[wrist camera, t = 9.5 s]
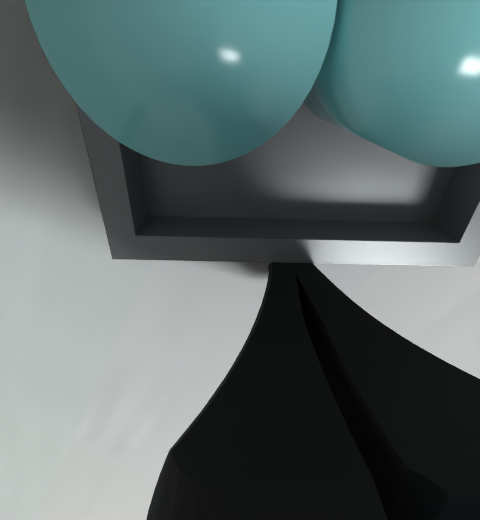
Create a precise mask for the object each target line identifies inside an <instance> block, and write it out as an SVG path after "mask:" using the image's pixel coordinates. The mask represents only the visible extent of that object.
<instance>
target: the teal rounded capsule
mask: <svg viewBox="0 0 480 520" xmlns="http://www.w3.org/2000/svg"><path fill="white" fill-rule="evenodd" d="M24 1H25V4H26V7H27V11H28V14H29V17H30V21H31V23H32V26H33V28H34V31H35V33H36V36H37V38H38V41H39V43H40V46H41V48H42V50H43V52H44V54H45V56H46V58H47V60H48V61H49V63H50V65H51V67H52V69H53V71H54V72H55V74H56V75H57V77H58V78H59V80H60V82H61V83H62V85H63V86H64V88H65V89H66V91H67V92H68V93H69V94H70V96H71V97H72V98H73V100H74V101H75V102H76V103H77V105H78V106H79V107H80V108H81V109H82V110H83V111H84V112H85V113H86V114H87V115H88V117H89V118H90V119H91V120H92V121H93V122H95V123H96V124H97V125H98V126H99V127H100V128H101V129H103V130H104V131H105V132H106V133H107V134H109V135H110V136H111V137H113V138H114V139H116V140H117V141H119V142H120V143H121V144H123V145H125V146H127V147H128V148H130V149H132V150H134V151H136V152H138V153H140V154H142V155H145V156H147V157H150V158H152V159H155V160H159V161H162V162H166V163H170V164H177V165H184V166H204V165H212V164H218V163H222V162H226V161H230V160H233V159H235V158H238V157H240V156H243V155H245V154H247V153H249V152H251V151H252V150H254V149H256V148H258V147H259V146H261V145H262V144H264V143H265V142H266V141H268V140H269V139H270V138H272V137H273V136H274V135H275V134H276V133H277V132H278V131H279V130H280V129H281V128H282V127H283V126H284V125H285V124H286V123H287V122H288V121H289V120H290V119H291V118H292V116H293V115H294V114H295V113H296V111H297V110H298V109H299V108H300V106H301V105H302V103H303V101H304V100H305V98H306V97H307V95H308V93H309V92H310V90H311V88H312V86H313V84H314V82H315V80H316V78H317V76H318V74H319V72H320V69H321V67H322V64H323V61H324V58H325V55H326V53H327V50H328V47H329V43H330V39H331V34H332V30H333V26H334V22H335V14H336V7H337V0H24Z"/></svg>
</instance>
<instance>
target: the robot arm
mask: <svg viewBox="0 0 480 520" xmlns="http://www.w3.org/2000/svg"><path fill="white" fill-rule="evenodd" d="M268 270H269V276H268V282H267V287H266V291H265V294H264V298H263V301H262V304H261V307H260V310H259V312H258V315H257V318H256V320H255V323H254V325H253V327H252V330H251V332H250V334H249V336H248V338H247V340H246V342H245V344H244V346H243V348H242V350H241V352H240V353H239V355H238V357H237V359H236V360H235V362H234V364H233V366H232V367H231V369H230V370H229V372H228V374H227V375H226V377H225V378H224V380H223V381H222V383H221V384H220V386H219V387H218V388H217V390H216V391H215V393H214V394H213V396H212V397H211V398H210V400H209V401H208V403H207V404H206V406H205V407H204V408H203V410H202V411H201V412H200V414H199V415H198V416H197V417H196V418H195V420H194V421H193V422H192V423H191V425H190V426H189V427H188V428H187V430H186V431H185V432H184V433H183V435H182V436H181V437H180V438H179V439H178V441H177V442H176V443H175V444H174V446H173V447H172V448H171V449H170V451H169V453H168V455H167V458H166V460H165V463H164V465H163V468H162V470H161V473H160V476H159V479H158V482H157V484H156V487H155V490H154V494H153V497H152V501H151V504H150V507H149V511H148V515H147V520H480V379H479V378H477V377H475V376H472V375H470V374H468V373H466V372H464V371H462V370H460V369H459V368H457V367H455V366H453V365H451V364H449V363H447V362H445V361H443V360H441V359H440V358H438V357H436V356H434V355H433V354H431V353H429V352H427V351H426V350H424V349H422V348H420V347H419V346H417V345H415V344H413V343H412V342H410V341H409V340H407V339H405V338H404V337H402V336H400V335H399V334H397V333H396V332H394V331H393V330H391V329H390V328H388V327H387V326H385V325H384V324H382V323H381V322H379V321H378V320H377V319H375V318H374V317H372V316H371V315H370V314H368V313H367V312H366V311H365V310H363V309H362V308H361V307H359V306H358V305H357V304H356V303H355V302H353V301H352V300H351V299H350V298H349V297H348V296H346V295H345V294H344V293H343V292H342V291H341V290H340V289H338V288H337V287H336V286H335V285H334V284H333V283H332V282H331V281H330V280H329V279H328V278H327V277H326V276H325V275H324V274H323V273H322V272H321V271H320V270H319V269H318V268H317V267H316V266H315V265H314V264H313V263H281V262H272V263H271V264H270V265H269V266H268Z"/></svg>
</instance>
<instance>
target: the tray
mask: <svg viewBox="0 0 480 520" xmlns="http://www.w3.org/2000/svg"><path fill="white" fill-rule="evenodd" d="M76 105H77V103H76ZM77 109H78V113H79V117H80V122H81V126H82V130H83V135H84V139H85V143H86V148H87V152H88V156H89V160H90V165H91V169H92V173H93V178H94V182H95V186H96V190H97V195H98V199H99V203H100V208H101V212H102V216H103V221H104V225H105V229H106V233H107V238H108V242H109V246H110V251H111V255H112V259H136V260H184V261H232V262H281V263H329V264H377V265H425V266H473V267H474V265H475V264H476V262H477V260H478V258H479V256H480V163H476V164H472V165H465V166H458V167H436V166H428V165H423V164H420V163H416V162H413V161H410V160H408V159H406V158H404V157H402V156H400V155H397V154H395V153H393V152H391V151H389V150H387V149H385V148H383V147H380V146H378V145H376V144H374V143H372V142H370V141H368V140H366V139H363V138H361V137H359V136H357V135H355V134H353V133H351V132H349V131H346V130H344V129H342V128H340V127H338V126H336V125H334V124H332V123H329V122H327V121H325V120H323V119H321V118H320V117H318V116H317V115H315V114H314V113H313V112H312V111H311V110H310V109H309V108H308V107H307V106H306V104H305V103H304V102H303V103H302V105H301V106H300V108H299V109H298V110H297V111H296V113H295V114H294V115H293V116H292V118H291V119H290V120H289V121H288V122H287V123H286V124H285V125H284V126H283V127H282V128H281V129H280V130H279V131H278V132H277V133H276V134H275V135H274V136H273V137H272V138H270V139H269V140H268V141H266V142H265V143H264V144H262V145H261V146H259V147H258V148H256V149H254V150H252V151H251V152H249V153H247V154H245V155H243V156H240V157H238V158H235V159H233V160H230V161H226V162H222V163H218V164H212V165H204V166H184V165H177V164H170V163H166V162H162V161H159V160H155V159H152V158H150V157H147V156H145V155H142V154H140V153H138V152H136V151H134V150H132V149H130V148H128V147H127V146H125V145H123V144H121V143H120V142H119V141H117V140H116V139H114V138H113V137H111V136H110V135H109V134H107V133H106V132H105V131H104V130H103V129H101V128H100V127H99V126H98V125H97V124H96V123H95V122H93V121H92V120H91V119H90V118H89V117H88V115H87V114H86V113H85V112H84V111H83V110H82V109H81V108H80V107H79V106H78V105H77Z"/></svg>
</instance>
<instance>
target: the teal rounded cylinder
mask: <svg viewBox="0 0 480 520" xmlns="http://www.w3.org/2000/svg"><path fill="white" fill-rule="evenodd" d="M303 102H304V103H305V104H306V106H307V107H308V108H309V109H310V110H311V111H312V112H313V113H314V114H315V115H317V116H318V117H320V118H321V119H323V120H325V121H327V122H329V123H332V124H334V125H336V126H338V127H340V128H342V129H344V130H346V131H349V132H351V133H353V134H355V135H357V136H359V137H361V138H363V139H366V140H368V141H370V142H372V143H374V144H376V145H378V146H380V147H383V148H385V149H387V150H389V151H391V152H393V153H395V154H397V155H400V156H402V157H404V158H406V159H408V160H410V161H413V162H416V163H420V164H423V165H428V166H436V167H458V166H465V165H472V164H476V163H480V0H337V7H336V14H335V22H334V26H333V30H332V34H331V39H330V43H329V47H328V50H327V53H326V55H325V58H324V61H323V64H322V67H321V69H320V72H319V74H318V76H317V78H316V80H315V82H314V84H313V86H312V88H311V90H310V92H309V93H308V95H307V97H306V98H305V100H304V101H303Z"/></svg>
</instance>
